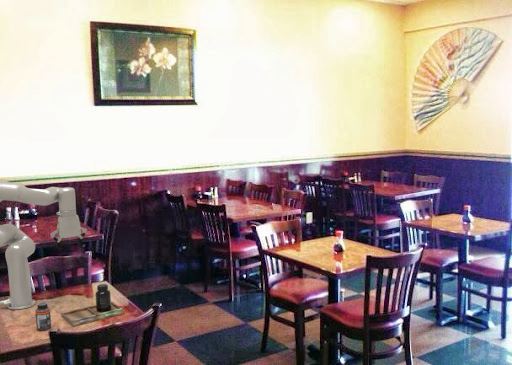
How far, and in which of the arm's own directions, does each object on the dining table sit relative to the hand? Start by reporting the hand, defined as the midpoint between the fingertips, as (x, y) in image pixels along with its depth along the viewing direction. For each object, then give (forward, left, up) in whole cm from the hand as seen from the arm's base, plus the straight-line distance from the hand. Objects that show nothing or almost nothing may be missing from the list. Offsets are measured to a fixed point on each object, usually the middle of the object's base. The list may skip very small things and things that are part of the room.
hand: (69, 248), depth 260 cm
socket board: (+3, -20, -28) cm, 35 cm away
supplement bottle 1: (-20, -21, -28) cm, 41 cm away
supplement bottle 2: (+8, -19, -28) cm, 34 cm away
